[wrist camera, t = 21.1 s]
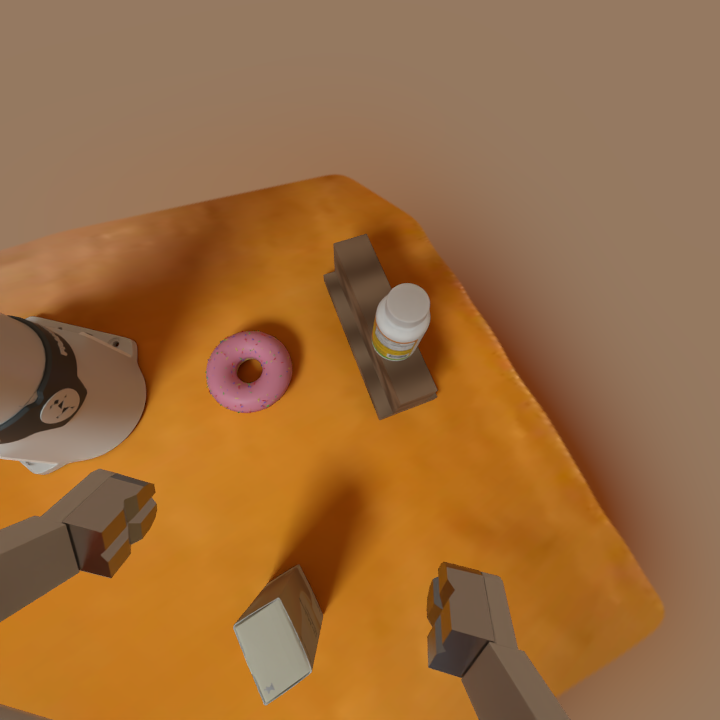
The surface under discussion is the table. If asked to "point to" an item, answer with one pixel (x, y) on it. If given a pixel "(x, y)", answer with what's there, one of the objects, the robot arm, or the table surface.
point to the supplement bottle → (401, 322)
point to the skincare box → (280, 634)
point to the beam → (357, 314)
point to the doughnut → (254, 393)
